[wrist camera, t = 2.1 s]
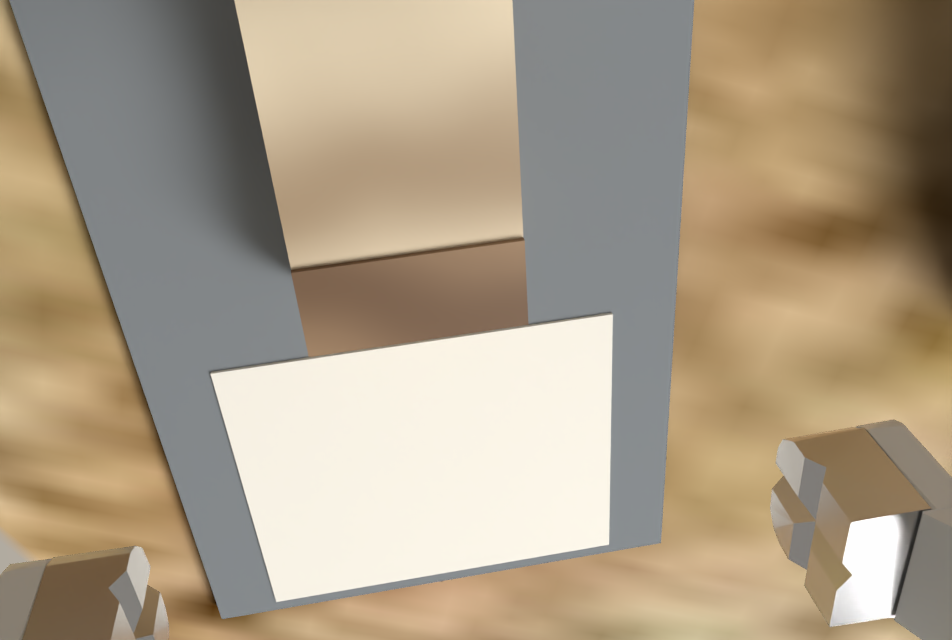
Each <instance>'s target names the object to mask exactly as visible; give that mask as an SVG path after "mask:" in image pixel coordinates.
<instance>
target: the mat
mask: <svg viewBox="0 0 952 640" xmlns="http://www.w3.org/2000/svg"><path fill="white" fill-rule="evenodd" d="M9 1H10V4H11V7H12V10H13V13H14V16H15V19H16V22H17V25H18V27H19V30H20V33H21V36H22V39H23V42H24V45H25V48H26V51H27V54H28V57H29V59H30V62H31V65H32V68H33V71H34V74H35V77H36V80H37V83H38V86H39V88H40V91H41V94H42V97H43V100H44V103H45V106H46V109H47V112H48V115H49V118H50V120H51V123H52V126H53V129H54V132H55V135H56V138H57V141H58V144H59V147H60V150H61V152H62V155H63V158H64V161H65V164H66V167H67V170H68V173H69V176H70V179H71V182H72V184H73V187H74V190H75V193H76V196H77V199H78V202H79V205H80V208H81V211H82V214H83V216H84V219H85V222H86V225H87V228H88V231H89V234H90V237H91V240H92V243H93V245H94V248H95V251H96V254H97V257H98V260H99V263H100V266H101V269H102V272H103V275H104V277H105V280H106V283H107V286H108V289H109V292H110V295H111V298H112V301H113V304H114V307H115V309H116V312H117V315H118V318H119V321H120V324H121V327H122V330H123V333H124V336H125V339H126V341H127V344H128V347H129V350H130V353H131V356H132V359H133V362H134V365H135V368H136V371H137V373H138V376H139V379H140V382H141V385H142V388H143V391H144V394H145V397H146V400H147V402H148V405H149V408H150V411H151V414H152V417H153V420H154V423H155V426H156V429H157V432H158V434H159V437H160V440H161V443H162V446H163V449H164V452H165V455H166V458H167V461H168V464H169V466H170V469H171V472H172V475H173V478H174V481H175V484H176V487H177V490H178V493H179V496H180V498H181V501H182V504H183V507H184V510H185V513H186V516H187V519H188V522H189V525H190V527H191V530H192V533H193V536H194V539H195V542H196V545H197V548H198V551H199V554H200V557H201V559H202V562H203V565H204V568H205V571H206V574H207V577H208V580H209V583H210V586H211V589H212V591H213V594H214V597H215V600H216V603H217V606H218V609H219V612H220V615H221V618H222V619H225V618H231V617H237V616H243V615H248V614H254V613H260V612H266V611H272V610H277V609H283V608H289V607H295V606H300V605H306V604H312V603H318V602H323V601H329V600H335V599H341V598H346V597H352V596H358V595H364V594H370V593H375V592H381V591H387V590H393V589H398V588H404V587H410V586H416V585H421V584H427V583H433V582H439V581H444V580H450V579H456V578H462V577H467V576H473V575H479V574H485V573H491V572H496V571H502V570H508V569H514V568H519V567H525V566H531V565H537V564H542V563H548V562H554V561H560V560H565V559H571V558H577V557H583V556H589V555H594V554H600V553H606V552H612V551H617V550H623V549H629V548H635V547H640V546H646V545H652V544H658V543H661V532H662V516H663V500H664V483H665V467H666V451H667V434H668V418H669V402H670V386H671V369H672V353H673V337H674V320H675V304H676V288H677V272H678V255H679V239H680V223H681V207H682V190H683V174H684V158H685V141H686V125H687V109H688V93H689V76H690V60H691V44H692V27H693V11H694V0H512V1H513V23H514V45H515V66H516V88H517V110H518V131H519V153H520V175H521V196H522V218H523V238H524V240H525V259H526V281H527V303H528V325H523V326H517V327H510V328H503V329H496V330H490V331H483V332H476V333H469V334H463V335H456V336H449V337H442V338H436V339H429V340H422V341H415V342H409V343H402V344H395V345H388V346H382V347H375V348H368V349H361V350H355V351H348V352H341V353H334V354H328V355H321V356H314V357H309V356H308V351H307V346H306V342H305V337H304V332H303V327H302V323H301V318H300V313H299V308H298V304H297V299H296V294H295V289H294V285H293V280H292V275H291V267H290V262H289V258H288V253H287V248H286V243H285V239H284V234H283V229H282V224H281V220H280V215H279V210H278V205H277V201H276V196H275V191H274V186H273V182H272V177H271V172H270V167H269V163H268V158H267V153H266V148H265V144H264V139H263V134H262V129H261V125H260V120H259V115H258V110H257V106H256V101H255V96H254V91H253V87H252V82H251V77H250V72H249V68H248V63H247V58H246V53H245V49H244V44H243V39H242V34H241V30H240V25H239V20H238V15H237V11H236V6H235V1H234V0H9Z"/></svg>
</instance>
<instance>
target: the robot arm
mask: <svg viewBox="0 0 952 640" xmlns="http://www.w3.org/2000/svg"><path fill="white" fill-rule="evenodd" d="M776 464H777V466H778V467H779V469H780V470H781V472H782V473H783V475H784V476H783V477H782V478H781V479H780V480H779V481H778V483H777V484H776V485H775V486H774V487H773V488H772V496H771V506H770V509H771V515H772V521H773V527H774V531H775V533H776V536H777V538H778V541H779V544H780V545H781V547H782V549H783V551H784V552H785V554H786V556H787V558H788V559H789V560H791V561H793V562H794V563H796V564H798V565H800V566H801V567H803V568H805V569H806V570H807V573H806V579H805V585H804V586H805V588H806V589H807V591H808V593H809V594H810V596H811V598H812V599H813V601H814V603H815V604H816V606H817V607H818V609H819V611H820V612H821V614H822V616H823V617H824V619H825V621H826V622H827V624H828V625H829V627H832V626H839V625H845V624H851V623H858V622H864V621H871V620H877V619H883V618H890V617H895V618H894V620H895V621H896V622H897V623H899V624H900V625H902V626H903V627H905V628H906V629H907V630H909V631H910V632H912V633H913V634H915V635H916V636H917V637H919V638H920V639H922V640H952V477H951V476H950V475H949V474H948V473H947V472H946V471H945V469H944V468H943V467H942V466H941V465H940V464H939V463H938V462H937V461H936V459H935V458H934V457H933V456H932V455H931V454H930V453H929V452H928V451H927V450H926V448H925V447H924V446H923V445H922V444H921V443H920V442H919V441H918V440H917V438H916V437H915V436H914V435H913V434H912V433H911V432H910V431H909V430H908V429H907V427H906V426H905V425H904V424H903V423H900V422H898V421H896V420H888V421H883V422H877V423H872V424H866V425H860V426H857V427H851V428H845V429H839V430H834V431H828V432H822V433H816V434H810V435H805V436H799V437H793V438H787V439H783V440H782V442H781V444H780V446H779V447H778V452H777V458H776ZM149 572H150V565H149V563H148V560H147V558H146V556H145V553H144V551H143V549H142V548H140V547H137V546H131V547H124V548H117V549H110V550H102V551H95V552H88V553H81V554H74V555H67V556H60V557H53V558H52V559H46V560H38V561H31V562H23V563H16V564H10V565H9V566H8V567H7V568H6V569H5V570H4V571H3V572H2V574H1V575H0V640H169V623H168V618H167V613H166V608H165V605H164V602H163V599H162V596H161V594H160V592H159V591H157V590H155V589H154V588H152V587H150V586H149V585H147V583H148V577H149Z"/></svg>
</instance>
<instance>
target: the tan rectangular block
mask: <svg viewBox="0 0 952 640" xmlns="http://www.w3.org/2000/svg"><path fill="white" fill-rule="evenodd" d="M234 1H235V6H236V11H237V15H238V20H239V25H240V30H241V34H242V39H243V44H244V49H245V53H246V58H247V63H248V68H249V72H250V77H251V82H252V87H253V91H254V96H255V101H256V106H257V110H258V115H259V120H260V125H261V129H262V134H263V139H264V144H265V148H266V153H267V158H268V163H269V167H270V172H271V177H272V182H273V186H274V191H275V196H276V201H277V205H278V210H279V215H280V220H281V224H282V229H283V234H284V239H285V243H286V248H287V253H288V258H289V262H290V267H291V275H292V280H293V285H294V289H295V294H296V299H297V304H298V308H299V313H300V318H301V323H302V327H303V332H304V337H305V342H306V346H307V351H308V356H309V357H314V356H321V355H328V354H334V353H341V352H348V351H355V350H361V349H368V348H375V347H382V346H388V345H395V344H402V343H409V342H415V341H422V340H429V339H436V338H442V337H449V336H456V335H463V334H469V333H476V332H483V331H490V330H496V329H503V328H510V327H517V326H523V325H528V303H527V281H526V259H525V240H524V238H523V218H522V196H521V175H520V153H519V131H518V110H517V88H516V66H515V45H514V23H513V1H512V0H234Z"/></svg>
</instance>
